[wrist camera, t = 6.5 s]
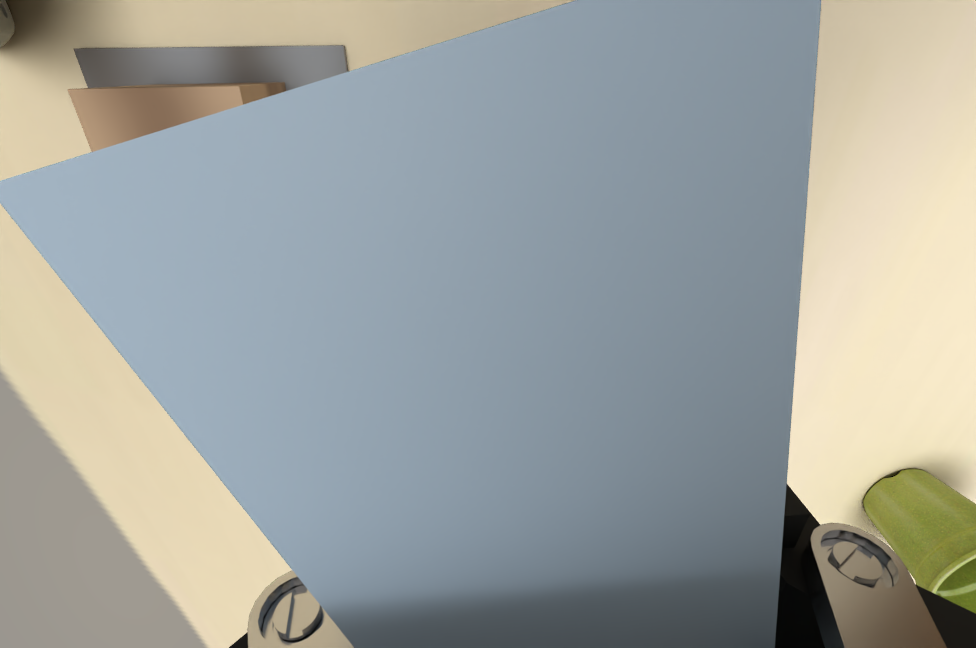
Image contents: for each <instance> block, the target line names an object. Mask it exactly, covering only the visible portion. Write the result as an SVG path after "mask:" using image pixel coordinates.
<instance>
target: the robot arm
mask: <svg viewBox="0 0 976 648" xmlns="http://www.w3.org/2000/svg"><path fill="white" fill-rule="evenodd" d="M247 631H248V632H247V633H246V634H245V635H244V636H242V637H241V638H240V639H239V640H238V641H236V642H235V643H234V644H233V645H232V646H230V647H229V648H354V647H353V645H352V644H351V643H350V642H349V640H348V639H347V638H346V637H345V635H344V634H343V633H342V632H341V630H340V629H339V628H338V627H337V625H336V624H335V623H334V622H333V620H332V619H331V618H330V617H329V615H328V614H327V613H326V612H325V610H324V609H323V608H322V607H321V605H320V604H319V603H318V602H317V600H316V599H315V598H314V597H313V595H312V594H311V593H310V591H309V590H308V589H307V588H306V586H305V585H304V584H303V583H302V581H301V580H300V579H299V578H298V576H297V575H296V574H295V573H294V571H293V570H292V571H290V572H288V573H286V574H284V575H282V576H280V577H279V578H277V579H276V580H275V581H273V582H272V583H271V584H270V585H269V586H267V587H266V588H265V589H264V591H263V592H262V593H261V595H260V596H259V597H258V598H257V600H256V601H255V603H254V606H253V608H252V610H251V612H250V615H249V621H248V629H247ZM775 648H976V613H974V612H972V611H969V610H967V609H965V608H963V607H961V606H959V605H957V604H955V603H953V602H951V601H949V600H947V599H945V598H943V597H941V596H938V595H936V594H934V593H932V592H930V591H928V590H926V589H924V588H922V587H920V586H918V585H916V584H915V583H914V581H913V579H912V577H911V575H910V573H909V571H908V569H907V568H906V566H905V565H904V563H903V562H902V560H901V559H900V557H899V556H898V555H897V554H896V553H895V552H894V551H893V550H892V549H891V548H890V547H889V546H888V545H886V544H885V543H883V542H882V541H881V540H879V539H878V538H876V537H875V536H873V535H871V534H869V533H867V532H865V531H863V530H861V529H859V528H856V527H853V526H849V525H846V524H840V523H827V524H822V525H820V524H819V523H818V522H817V520H816V519H815V518H814V517H813V515H812V514H811V513H810V512H809V511H808V509H807V508H806V507H805V506H804V504H803V503H802V502H801V501H800V499H799V498H798V497H797V496H796V495H795V493H794V492H793V491H792V490H791V488H790V487H789V486H788V485H787V484H786V498H785V512H784V526H783V540H782V554H781V568H780V582H779V596H778V609H777V623H776V637H775Z"/></svg>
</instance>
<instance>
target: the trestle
mask: <svg viewBox="0 0 976 648" xmlns="http://www.w3.org/2000/svg"><path fill="white" fill-rule="evenodd" d="M74 51H75V54H76V57H77V59H78V62H79V65H80V67H81V70H82V73H83V76H84V78H85V81H86V84H87V86H88V88H83V89H68V92H69V94H70V97H71V99H72V102H73V105H74V107H75V110H76V112H77V115H78V117H79V120H80V123H81V125H82V128H83V130H84V133H85V136H86V138H87V141H88V143H89V146H90V148H91V151H92V152H94V151H97V150H100V149H104V148H107V147H110V146H113V145H116V144H119V143H123V142H126V141H129V140H132V139H135V138H139V137H142V136H145V135H148V134H151V133H155V132H158V131H161V130H164V129H167V128H170V127H174V126H177V125H180V124H183V123H186V122H190V121H193V120H196V119H199V118H202V117H206V116H209V115H212V114H215V113H218V112H221V111H225V110H228V109H231V108H234V107H237V106H241V105H244V104H247V103H250V102H253V101H257V100H260V99H263V98H266V97H269V96H272V95H276V94H279V93H282V92H285V91H288V90H292V89H295V88H298V87H301V86H304V85H308V84H311V83H314V82H317V81H320V80H323V79H327V78H330V77H333V76H336V75H339V74H343V73H346V72H348V68H347V61H346V53H345V46H343V45H341V46H256V47H172V48H87V49H74Z"/></svg>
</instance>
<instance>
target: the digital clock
mask: <svg viewBox="0 0 976 648" xmlns="http://www.w3.org/2000/svg"><path fill="white" fill-rule="evenodd" d="M14 30H15V25H14V21H13V18H12V15H11V13H10V10H9V8H8V5H7V3H6V0H0V47H2V46H3V45H4V44H5V43H7V42H8V41H9V39H10V38H11V37H12V35H13V34H14Z"/></svg>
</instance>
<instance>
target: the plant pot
mask: <svg viewBox="0 0 976 648" xmlns="http://www.w3.org/2000/svg"><path fill="white" fill-rule="evenodd" d="M863 505H864V508H865V511H866V514H867V515H868V517H869V518H870V519H871V521H872V522H873V523H874V525H875V526H876V527H877V529H878V530H879V531H880V533H881V534H882V535H883V537H884V538H885V539H886V541H887V542H888V543H889V545H890V546H891V547H892V549H893V550H894V552H895V553H896V554H897V555H898V556H899V557H900V559H901V560H902V562H903V563H904V565H905V566H906V568H907V569H908V571H909V572H910V573H911V575H912V576H913V578H914V579H915V581H916V585H918V586H920V587H922V588H924V589H926V590H928V591H930V592H932V593H934V594H936V595H938V596H941V597H943V598H945V599H947V600H949V601H951V602H953V603H955V604H957V605H959V606H961V607H963V608H965V609H967V610H969V611H972V612H974V613H976V504H975V503H973V502H972V501H970V500H969V499H967V498H966V497H964V496H963V495H961V494H960V493H958V492H957V491H955V490H954V489H952V488H951V487H949V486H947V485H946V484H944V483H943V482H941V481H940V480H938V479H937V478H935V477H934V476H932V475H931V474H929V473H928V472H926V471H923V470H920V469H908V470H903V471H900V472H899V474H898V475H896V476H894V477H891V478H884V479H882V480H880V481H879V482H877V483H876V484H875V485H874V486H873V487H872V488H871V489H870V490H869V491H868V493H867V494H866V496H865V498H864V501H863Z"/></svg>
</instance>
